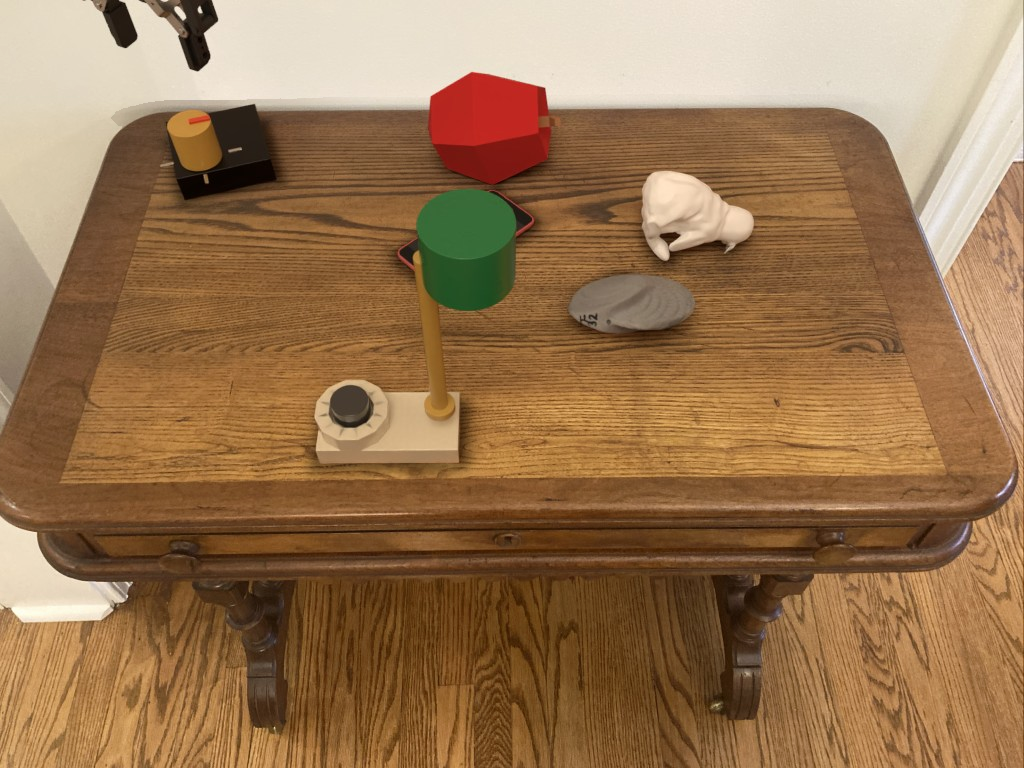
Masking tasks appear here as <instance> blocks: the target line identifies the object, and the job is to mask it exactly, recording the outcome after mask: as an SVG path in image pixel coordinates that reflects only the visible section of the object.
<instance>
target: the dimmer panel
mask: <svg viewBox="0 0 1024 768" xmlns="http://www.w3.org/2000/svg"><path fill="white" fill-rule="evenodd" d="M257 109H258V108H257V106H256V104H255V103H252V104H246V105H241V106H235V107H232V108H226V109H222V110H216V111H212V112H208V113H207V114H208V115H209V117H210V119H211V122H212V125H213V128H214V131H215V133H216V136H217V139H218V142H219V145H220V148H221V151H222V159H221V161H220V162H219V163H218V164H217V165H216V166H214V167H213V168H210V169H208V170H204V171H191V170H188V169H186V168H184V167H183V166H182V164H181V162H180V160H179V157H178V154H177V152H176V149H175V147H174V144H173V142H172V139H171V137H170V134H169V131H168V129H167V124H168V122H169V120H168V121H165V122H164V123H165V128H166V131H167V132H166V133H167V139H168V144H169V149H170V155H171V159H172V161H171V162H166V163H162V164H159V166H160V168H167V167H172V166H173V170H174V176H175V180H176V182H177V185H178V187H179V190H180V192H181V194H182V198H183V199H184V201H188V200H192V199H193V200H194V199H198V198H201V197H207V196H210V195H214V194H219V193H223V192H224V193H225V192H229V191H233V190H238V189H242V188H246V187H250V186H251V187H252V186H255V185H256V186H257V185H260V184H264V183H269V182H273V181H274V182H275V181H277V176H276V171H275V168H274V165H273V162H272V157H271V154H270V151H269V147H268V143H267V140H266V137H265V133H264V130H263V126H262V123H261V120H260V117H259V113H258V110H257Z"/></svg>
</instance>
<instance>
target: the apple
mask: <svg viewBox="0 0 1024 768" xmlns="http://www.w3.org/2000/svg"><path fill="white" fill-rule="evenodd" d="M558 126H562V119H561V117H560V116H558V115H557V114H556V115H550V110H549V105H548V97H547V90H546V87H544V86H540V85H535V84H532V83H528V82H523V81H519V80H515V79H512V78H508V77H507V78H506V77H502V76H499V75H494V74H490V73H483V72H476V71H475V72H474V71H470V72H469V73H466V75H464V76H461V77H460V78H459V79H457V80H455V81H453V82H452V83H450V84H448V85H446V86H445V87H443V88H442V89H440V90H438V91H436V92H435V93H434V94H432V95H430V97H429V109H428V120H427V132H428V135H429V138H430V141H431V144H432V146H433V148H434V149H435V151H436V153H437V155H438V156H439V158H440V160H441V162H442V164H443V165H444V167H445V168H446V169H447V170H450V171H451V172H455V173H458V174H461V175H464V176H467V177H468V178H472V179H474V180H477V181H480V182H483V183H486V184H488V185H490V186H494V185H496V184H498V183H501V182H502V181H505V180H507V179H508V178H511V177H513V176H515V175H517V174H519V173H521V172H524V171H525V170H528V169H529V168H532V167H534V166H536V165H539V164H540V163H542V162H544V161H547V160H548V159H549V151H550V143H551V138H552V137H551V135H552V127H558Z"/></svg>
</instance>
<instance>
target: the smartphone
mask: <svg viewBox="0 0 1024 768" xmlns="http://www.w3.org/2000/svg"><path fill="white" fill-rule="evenodd" d="M487 192H490V193H492V194H494V195H497V196H498V197H500V198H501V199H503V200H504V201H505V202H506V203H507V204H508V205H509V206H510V207H511V209H512V210H513V212H514V214H515V218H516V238H517V237H519V236H521V234H523V233H524V232H526V231H528V230H529V229H530V228H531V227H533V226H534V224H535V218H534V217H533V216H532V215H531V214H530V213H529V212H528V211H526V210H525V209H524V208H522V207H521V206H519V205H518V204H517V203H515V202H513V201H512V200H511V199H510V198H508V197H506V196H505V195H504V194H502V193H501V192H499V191H497V190H495V189H489V190H487ZM418 250H419V246H418V237H417V236H416V237H415V238H414V239H412V240H411V241H409V242H408V243H406V244H405V245H403V246H402V247H400V248H399V249H398V250H397V257H398V259H399V260H400V261H401V262H402V263H403V264H405V266H407V267H408V268H410V269H411V270H412V271H413V272H414V273H415V271H414V264H413V255H414V253H415V252H417V251H418Z"/></svg>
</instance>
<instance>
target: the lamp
mask: <svg viewBox="0 0 1024 768" xmlns="http://www.w3.org/2000/svg"><path fill="white" fill-rule="evenodd" d="M487 191H488V190H487ZM487 191H486V190H483V189H476V188H459V189H452V190H448V191H445V192H443V193H440V194H438V195H436V196H434V197H433V198H430V200H429V201H427V202H426V203H425V204H424V205H423V207H422V208H421V209H420V211H419V213H418V215H417V217H416V222H415V224H416V225H415V226H416V227H415V228H416V238H417V237H418V246H419V250H418V251H417V252H415V253H414V255H413V264H414V271H415V272H414V271H413V272H414V278H415V286H416V294H417V301H418V303H417V304H418V310H419V319H420V327H421V334H422V341H423V342H422V343H423V349H424V359H425V366H426V374H427V381H428V392H430V395H429V396H428V397H427V398H426V399H425V402H424V408H425V413H426V415H427V416H428V417H429V418H430V419H432V420H435V421H444V420H447V419H449V418H450V417H451V416H452V415H453V414H454V412H455V400H454V398H453V396H452V395H450V394H449V393H447V392H448V387H447V380H446V370H445V358H444V349H443V338H442V329H441V327H442V326H441V319H440V318H441V317H440V305H441V306H443V307H445V308H447V309H451V310H454V311H460V312H477V311H481V310H485V309H489V308H491V307H493V306H495V305H497V304H498V303H500V302H502V301H503V300H504V299H505V298H506V297H507V296H508V295H509V294H510V293H511V291H512V289H513V287H514V286H515V281H516V275H517V273H516V271H517V270H516V268H517V267H516V266H517V265H516V263H517V261H516V260H517V237H516V218H515V214H514V212H513V210H512V209H511V207H510V206H509V205H508V204H507V203H506V202H505V201H504V200H503V199H501V198H500V197H498V196H497V195H494V194H492V193H490V192H487Z"/></svg>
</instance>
